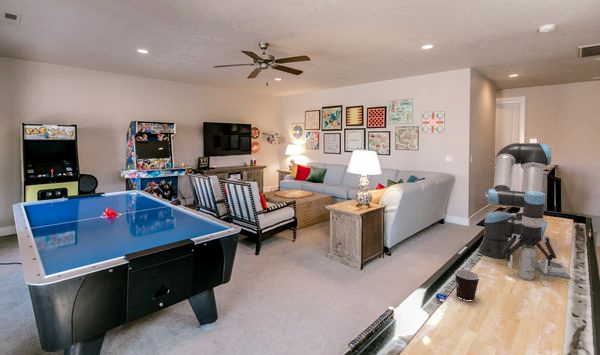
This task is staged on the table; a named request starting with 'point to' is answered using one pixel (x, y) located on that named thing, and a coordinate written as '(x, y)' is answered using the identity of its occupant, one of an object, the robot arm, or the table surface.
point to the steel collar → (559, 267)
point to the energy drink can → (527, 262)
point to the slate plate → (554, 274)
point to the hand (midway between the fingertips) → (526, 269)
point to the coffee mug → (466, 284)
